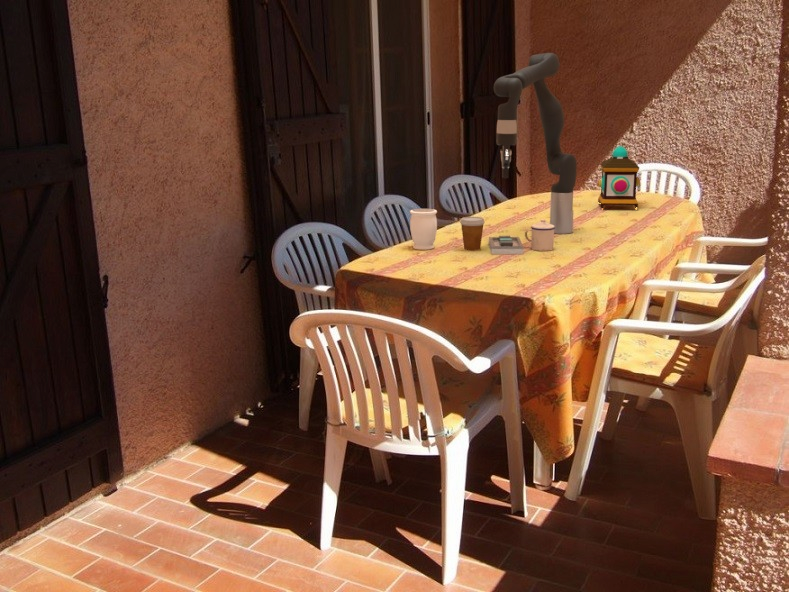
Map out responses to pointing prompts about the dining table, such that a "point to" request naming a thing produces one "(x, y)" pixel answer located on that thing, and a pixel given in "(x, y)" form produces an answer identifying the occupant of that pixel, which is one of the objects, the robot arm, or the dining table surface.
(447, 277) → the dining table surface
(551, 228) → the teacup with lid
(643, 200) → the dining table surface
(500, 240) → the teal rectangular box
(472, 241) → the disposable coffee cup
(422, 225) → the jar
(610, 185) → the decorative lantern
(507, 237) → the grey rectangular prism
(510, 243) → the dark taupe block
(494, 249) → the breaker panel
